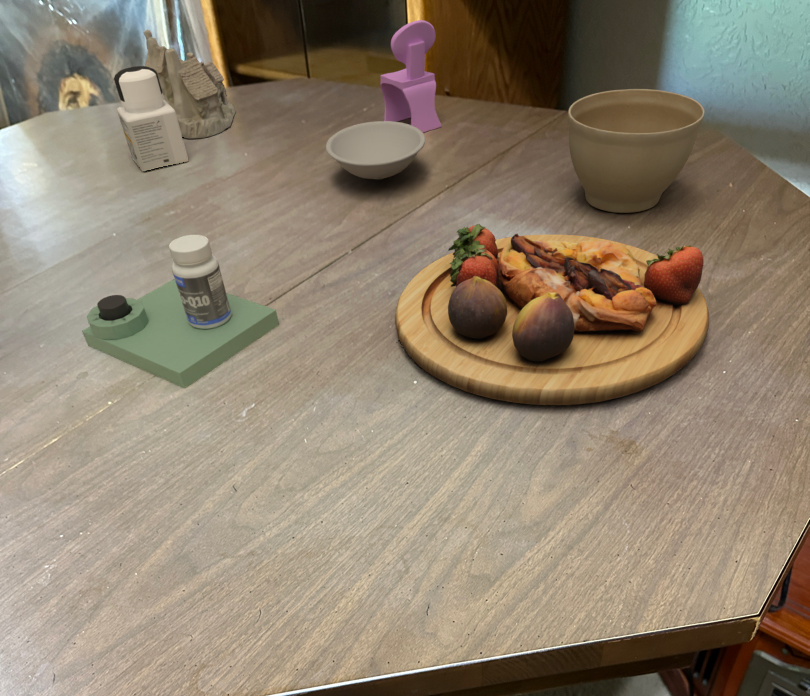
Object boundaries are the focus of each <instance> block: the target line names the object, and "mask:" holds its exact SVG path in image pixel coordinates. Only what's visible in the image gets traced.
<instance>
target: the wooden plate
mask: <svg viewBox="0 0 810 696" xmlns="http://www.w3.org/2000/svg"><path fill="white" fill-rule="evenodd" d="M456 233H457V236H458V238H456V239H455V240H453V245H451V246H449V248H448V250H447V252H449V251H453V252H451V253H448V254H446V255H444V256H442V257H440V258H438V259H436V260H434V261H433V262H430V263H429V264H428V265H426V266H425V267H424V268H422V269H421V270H420V271H419V272H418V273H417V274H416V275H415V276H414V277H413V278H412V279H410V281H409V282H408V283H407V285H406V286H405V288H404V289H403V290H402V293H401V294H400V296H399V298H398V300H397V303H396V308H395V313H394V325H395V331H396V335H397V338H398V339H399V343H400V344H401V346H402V348H404V351H405V352H406V353H407V354H408V356H409V358H411V359H412V360H413V361H414V362H415V363H416V364H417V365H418V366H419V367H420V368H422V370H424V371H425V372H426V373H428V374H430V375H431V376H433V377H434V378H436V379H438V380H440V381H441V382H443V383H445V384H447V385H449V386H452V387H454V388H456V389H459V390H462V391H464V392H467V393H469V394H474V395H477V396H481V397H484V398H488V399H492V400H496V401H497V400H498V401H503V402H508V403H515V404H525V405H536V406H537V405H538V406H571V405H572V406H573V405H583V404H584V405H585V404H591V403H601V402H605V401H610V400H614V399H618V398H622V397H626V396H628V395H632V394H636V393H638V392H641V391H644V390H645V389H648V388H650V387H653V386H656V385H657V384H660V383H662V382H664V381H665V380H667V379H669V378H670V377H671V376H673V375H675V374H677V373H678V372H679V371H680V370H682V369H683V368H684V367H686V365H688V364H689V362H691V361H692V359H693V358H694V357H695V356H696V354H697V353H698V352H699V351H700V350H701V348H702V346H703V345H704V342H705V339H706V337H707V334H708V332H709V327H710V312H709V311H710V310H709V307H708V303H707V301H706V298H705V296H704V294H703V293H702V291H701V290H700V288H699V285H700V283H701V280H702V276H703V269H704V263H705V262H704V255H703V253H702V250H700V249H699V248H698V247H695V246H692V245H691V244H689V245H684V244H682V246H681V247H680V246H675V249H670V248H669V247H668V248H667V249H668V251H667V252H666V253H667V255H660V254H658V253H656V254H654V253H652V252H650V251H647V250H644V249H641V248H639V247H636V246H633V245H630V244H626V243H623V242H619V241H615V240H610V239H604V238H600V237H599V238H598V237H593V236H587V235H586V236H585V235H576V234H575V235H573V234H553V233H552V234H527V235H519V234H518V233H514V235H513V236H509V237H501V238H497V239H496V237H495V235H494V233H493V232H492V231H490V230H489V229H488V228H487V227H486V226H483V225H481V224H480V223H477V224H475V225H471V226H470V227H468V226H466V227H465V226H464V227H463V228H459V229H458V230H456Z"/></svg>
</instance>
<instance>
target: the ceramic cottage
mask: <svg viewBox="0 0 810 696" xmlns="http://www.w3.org/2000/svg"><path fill="white" fill-rule="evenodd" d="M143 35H144V37H145V42H146V43H145V44H146V48H147V55H146V61H145V63H144V66H147V67H150V68H153V69H154V70H155V71H156V72H157V74H158V78H159V82H160V85H161V89H162V93H163V96H164V100H165V101H166V102H167V103H168V104H169V105H170V106H171V107H172V108H173V109H174V110H175V112H176V116H177V119H178V123H179V127H180V131H181V134H182V137H184V138H183V139H190V140H191V139H202V138H209V137H213V136H214V135H215V136H216V135H218V134H220V133H222V132H224V131H225V130H226V129H228V128H230V127H231V125H232V123H233V121H234V117H235V115H236V113H237V110H236V108H235V105H233V104H232V103H230V101H229V100H228V98H227V97H228V94H227V89H226V87H225V86H226V85H225V84H224V83H223V82H224V81H225V78H224V77H223V74H222V73H221V72H220V70H219V69H218V68H217V66H216V64H214V62H212V61H209V62H206V63H204V62H203V61H199V59H198V57H196V56H195V54H194V52H187V53H186V60H183V59H182V58H181V59H180V57H179V56H178V52H177V50H175V48H173V47H169V48H167V47H166V46H164V45H163V46H162V45H161V46H160V44H159V43H158V41H157V38H156V37H153V34H152V31H151V30H150V29H146V30H144V31H143Z"/></svg>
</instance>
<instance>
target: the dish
mask: <svg viewBox="0 0 810 696" xmlns="http://www.w3.org/2000/svg"><path fill="white" fill-rule="evenodd" d="M425 144H426V136H425V134H424V132H422V131H421V130H419V129H418V128H416V127H414V126H412V125H411V124H408V123H404V122H400V121H397V122H392V121H384V120H381V121H380V120H379V121H378V120H377V121H368V122H361V123H357V124H354V125H350V126H347V127H345V128H343V129H340V130H339V131H337V132H335V133H333V135H331V136H330V137H329V138H328V140H327V141H326V144H325V150H326V153H327V154H328V155H329V157H330V158H332V159H333V160H335V161H336V163H338V165H340V166H341V168H342V169H344V170H345V171H347V173H350V174H352V175H353V176H356V177H358V178H362V179H368V180H383V179H386V178H390V177H393V176H395V175H397V174H399V173H401V172H402V171H404V170H405V169H406V168H407V167H408V166H410V164H411V163H412V162H413V161H414V160H415V158H416V157H417V155H418V154H419V152H420V151H421V150H422V149H423V148H424V146H425Z"/></svg>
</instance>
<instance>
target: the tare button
mask: <svg viewBox="0 0 810 696" xmlns="http://www.w3.org/2000/svg"><path fill="white" fill-rule="evenodd" d="M96 306H98V309H99V311H100V314H101V316H102V318H103V320H105V321H113V320H117V319H121V318H123V317H125V316H127V315H129V314H130V312H131V311H130V309H129V306H128V303H127V301H126V297H125V296H124V295H122V294H111V295H108V296H105V297H102V298H101V299H100V300H98V302H97V303H96Z"/></svg>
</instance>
